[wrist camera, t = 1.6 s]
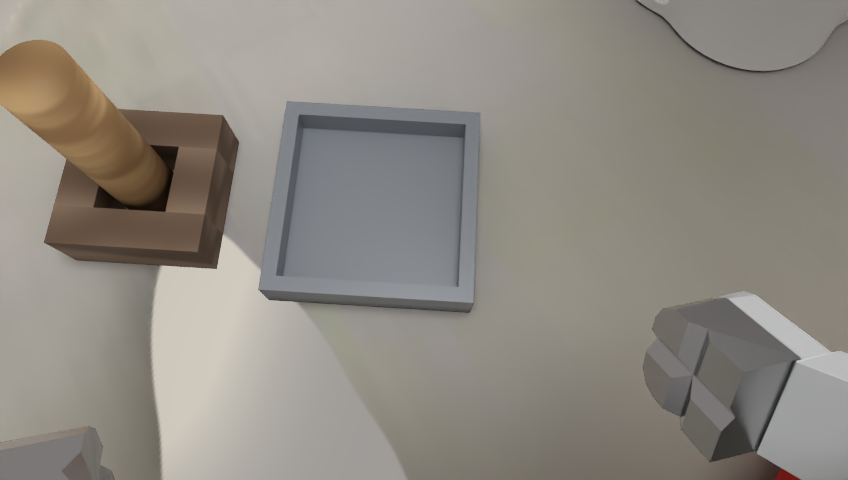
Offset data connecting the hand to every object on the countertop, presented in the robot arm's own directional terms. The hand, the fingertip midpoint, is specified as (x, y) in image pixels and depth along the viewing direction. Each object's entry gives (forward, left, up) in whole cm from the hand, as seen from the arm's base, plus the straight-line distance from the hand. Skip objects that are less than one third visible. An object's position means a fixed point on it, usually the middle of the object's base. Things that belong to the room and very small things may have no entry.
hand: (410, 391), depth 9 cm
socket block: (-15, -20, -33) cm, 41 cm away
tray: (-15, -4, -33) cm, 37 cm away
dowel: (-15, -20, -33) cm, 41 cm away
